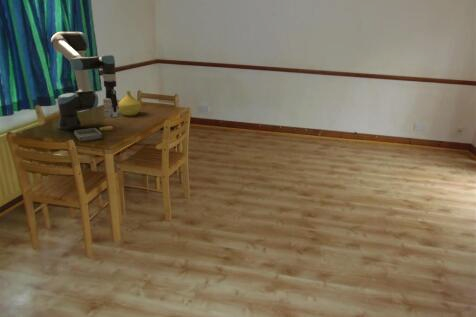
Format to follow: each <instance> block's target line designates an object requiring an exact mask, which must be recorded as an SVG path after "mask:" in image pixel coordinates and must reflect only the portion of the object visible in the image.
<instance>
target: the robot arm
mask: <svg viewBox="0 0 476 317" xmlns="http://www.w3.org/2000/svg"><path fill="white" fill-rule="evenodd" d="M50 44H51V47H52V48H53V49H54V50H55V51H56V52H57V53H60V54H61V55H62V56H64V57H65V59H66V60H68V61H69V64H70V67H71V69H72V70H73V71H74V74H75V75H74V76H75V80H76V85H77V91H76V93H75V92H65V93H63V94H60V95H58V97H57V104H58V105H57V106H58V110H59V111H58V112H59V121H58V129H60V130H65V131H67V130H70V131H71V130H78V129H80V128H82V127H83V123H82V121H81V119H80V116H79V113H78V112H83V111H91V110H95V109H97V108H98V105H99V96H98V94H97V92H95V91H94V89H93V88H92V86H91V82H90V76H89V72H88V71H89V70H102V77H103V87H104V88H105V99H106V98H111V102H112V106H111V107H112V114H113V117H117V106H118V104H117V99H118V98H117V91H116V90H115V87H117V76H116V74H117V73H116V61H115V56H114V55H113V54H102V55H96V56H88V57H87V56H86V53H87V50H88V49H89V40H88V38H87V36H86V34H85V33H84V32H81V31H58V32H56V33H55V34H53V35H52V37H51V39H50ZM117 118H118V117H117Z"/></svg>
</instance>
